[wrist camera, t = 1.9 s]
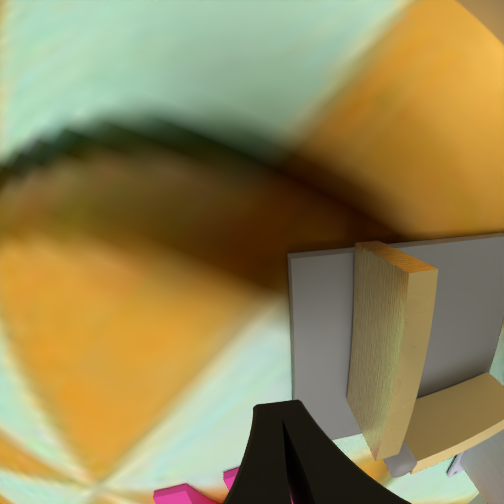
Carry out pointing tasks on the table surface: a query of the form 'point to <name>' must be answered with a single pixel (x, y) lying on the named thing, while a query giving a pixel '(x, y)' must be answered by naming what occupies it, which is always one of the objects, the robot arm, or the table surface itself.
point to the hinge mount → (438, 352)
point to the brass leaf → (388, 341)
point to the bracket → (190, 492)
